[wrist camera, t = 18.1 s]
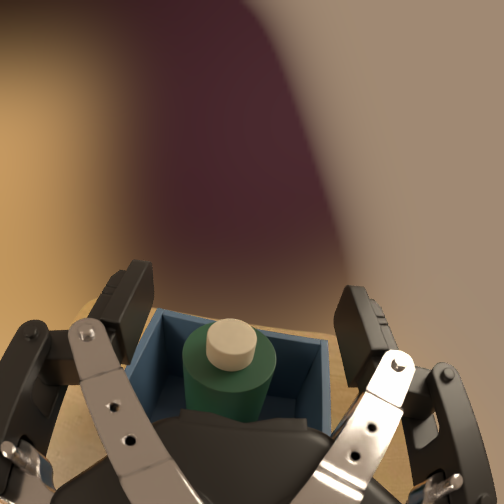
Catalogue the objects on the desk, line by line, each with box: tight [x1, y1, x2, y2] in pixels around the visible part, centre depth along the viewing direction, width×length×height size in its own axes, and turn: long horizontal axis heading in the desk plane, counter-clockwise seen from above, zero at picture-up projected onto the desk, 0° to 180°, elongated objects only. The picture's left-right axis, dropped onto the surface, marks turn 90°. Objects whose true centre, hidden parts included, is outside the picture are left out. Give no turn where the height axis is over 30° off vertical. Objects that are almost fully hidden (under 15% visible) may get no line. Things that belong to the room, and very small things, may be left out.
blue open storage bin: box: [124, 308, 331, 436], centre depth 20 cm, size 13×10×8 cm
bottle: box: [182, 319, 276, 423], centre depth 19 cm, size 5×5×12 cm
